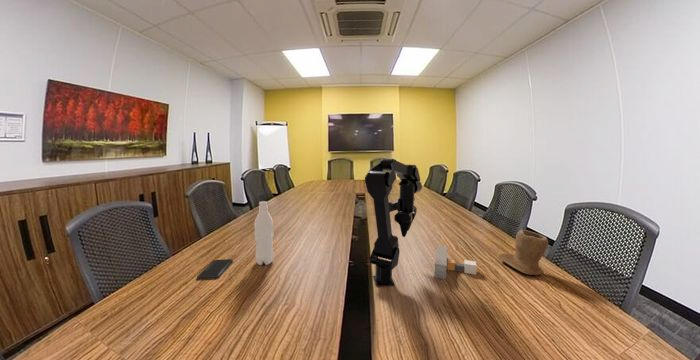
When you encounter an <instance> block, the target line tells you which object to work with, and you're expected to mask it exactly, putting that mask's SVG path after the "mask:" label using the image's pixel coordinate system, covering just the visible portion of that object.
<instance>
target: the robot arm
mask: <svg viewBox="0 0 700 360" xmlns="http://www.w3.org/2000/svg"><path fill="white" fill-rule="evenodd" d="M397 178H399V180H400V181H399V182H398V186H399V198H397V200H396V201H393V202H391V201H389V196H390V193H391V191H392V189H393V185H394V182H395V181H396V179H397ZM364 184H365V187H366V191H367V193H368V195H369V196H370V197H371V198H372V199H373V208H374V216H375V223H376V224H375V225H376V232H377V238H376V240H375V241H374V243H373V246H374V247H373V249H372V251H371V254H370V257H369V259H368V260H369V263H370V265H375V275H372V279H373V281H374V284H375V286H377V287H380V286H383V287H385V286H387V287H388V286H395V285H396V283H395V282H394V279H393V269H394V268H396V267H397V266H399V265H398V264H399V259H400V253H401V252H400V247H399V246H400V244H399V238H398V235H393V232H392V223H391V222H392V221H391V220H392V219H391V212H395V211H397V212H396V213H394V219H393V220H394V221H395V222H396V223H397V224H399V228H400V232H401V237H402V238H405V237H406V235H407V234H408V231H410V228H411V226H412V224H413V221H414V220H415V217H416V215H417V211H418V208H417V207H416V205H415V200H416V199H415V194H417V193H420V192H421V191H422V188H423V185H422V184H423V183H422V182H421V176H420V172H419V168H418V167H417V165H416V164H405V163H403V162H400V161H397V159H394V158H382V159H380V161H379V162H378V163H376V164H375V165H373V166H372V167H371V168H369V170H368V172H367V173H366V175H365V176H364Z"/></svg>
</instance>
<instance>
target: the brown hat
mask: <svg viewBox="0 0 700 360" xmlns="http://www.w3.org/2000/svg"><path fill="white" fill-rule="evenodd" d="M514 245H515V254H514V253H510V252H507V253H506V252H503V253H500V254H498V255H497V258H498V259H499V260H501V261H502V262H504V263H506V265H508V266H510V267H511V268H513V269H515V270H517V271H519V272H521V273H522V274H525V275H531V276H538V275H543V274H544V273H545V272H544V270H543V269H542V268H541V267H540V265H539V263H540V260H541V259H542V257H543V256H544V255H545V252H546V250H547V249H548V246H549V239H548V238H547V237H546V236H544V235H542V234H539V233H536V232H533V231H530V230H527V229H526V230H525V229H520V230H519V231H518V232H517V233H516V236H515V243H514Z"/></svg>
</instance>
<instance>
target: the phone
mask: <svg viewBox="0 0 700 360" xmlns="http://www.w3.org/2000/svg"><path fill="white" fill-rule="evenodd" d="M233 262H234V260H233V258H232V259H231V258H230V259H229V258H228V259H214V260H212V261H211V262H210V263H209V264H208V265H206V267H205V268H204V269H203V270H202V271H201V272H200V273H199V274H198V275H197V276H196V280H212V279H213V280H215V279H220V278H221V276H222V275H223V274H224V273H225V272H226V271H227V270H228V269H229V268H230V266H231V265H232V264H233Z"/></svg>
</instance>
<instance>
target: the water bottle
mask: <svg viewBox="0 0 700 360" xmlns="http://www.w3.org/2000/svg"><path fill="white" fill-rule="evenodd" d="M268 208H269V207H268V201H265V200H263V201H259V202H258V209H259V210H258V212H257V215H256V217H255V219H254V221H253V222H254V223H253V224H254V241H255V254H254V255H255V256H254V257H255V262H256V263H257V265H258V266H262V265H265V266H269V265H270V264H271V263H272V262H273V261H274V259H275V252H274V249H273V248H274V246H273V241H274V236H275V235H274V219H273V218H272V215H271V214H270V212H269V209H268Z"/></svg>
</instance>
